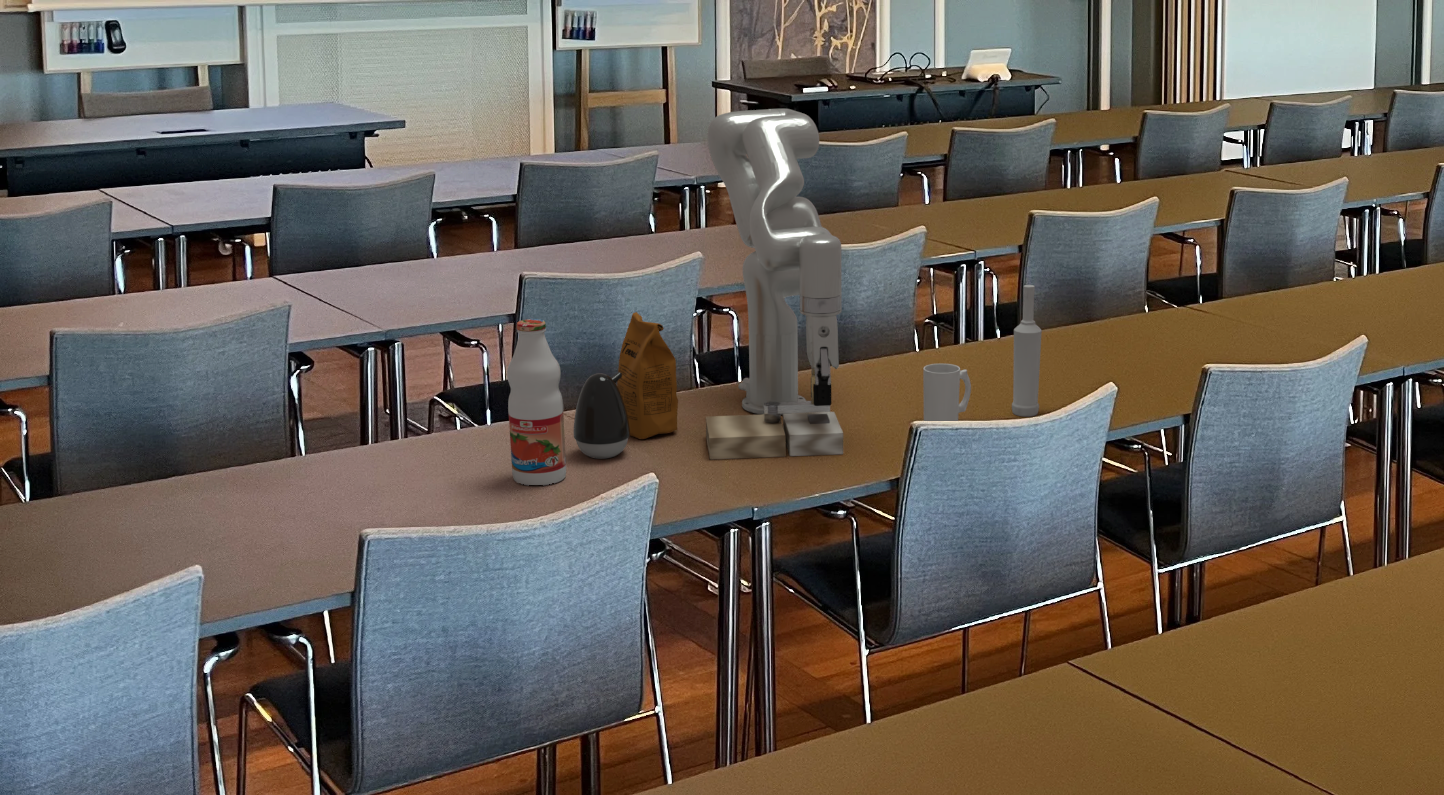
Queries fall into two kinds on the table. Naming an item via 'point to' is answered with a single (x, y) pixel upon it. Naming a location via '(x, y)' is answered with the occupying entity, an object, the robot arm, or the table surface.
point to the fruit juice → (535, 409)
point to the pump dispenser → (601, 418)
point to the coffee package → (648, 380)
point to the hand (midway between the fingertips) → (821, 400)
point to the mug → (944, 392)
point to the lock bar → (791, 407)
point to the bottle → (1026, 359)
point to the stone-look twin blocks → (773, 436)
